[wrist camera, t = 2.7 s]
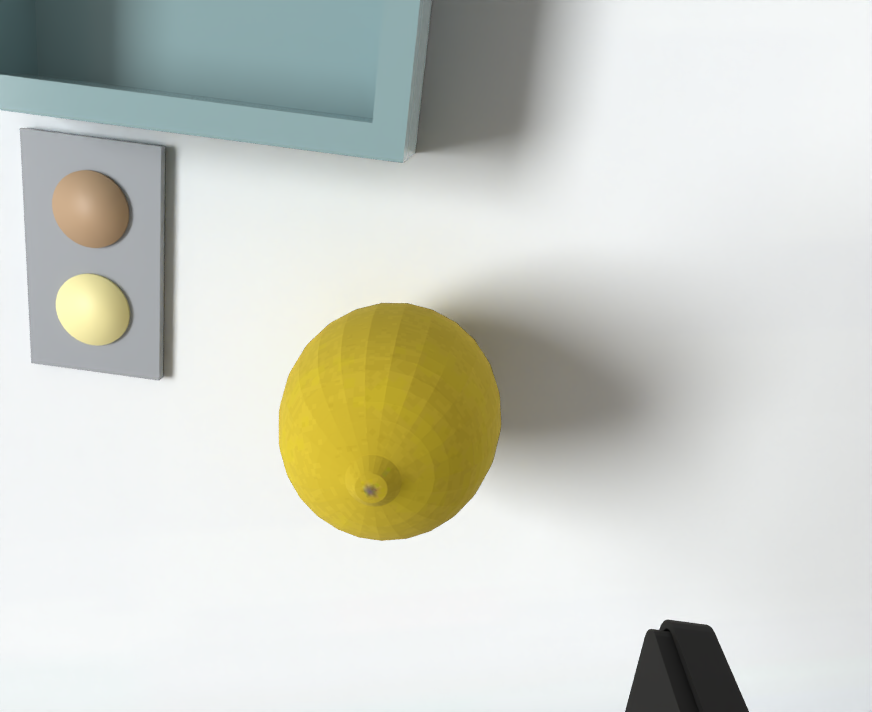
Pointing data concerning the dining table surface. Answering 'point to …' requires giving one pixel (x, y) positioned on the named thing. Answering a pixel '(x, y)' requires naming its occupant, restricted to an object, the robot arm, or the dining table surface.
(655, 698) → the robot arm
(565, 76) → the dining table surface
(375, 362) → the lemon
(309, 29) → the trough
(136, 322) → the pair card
